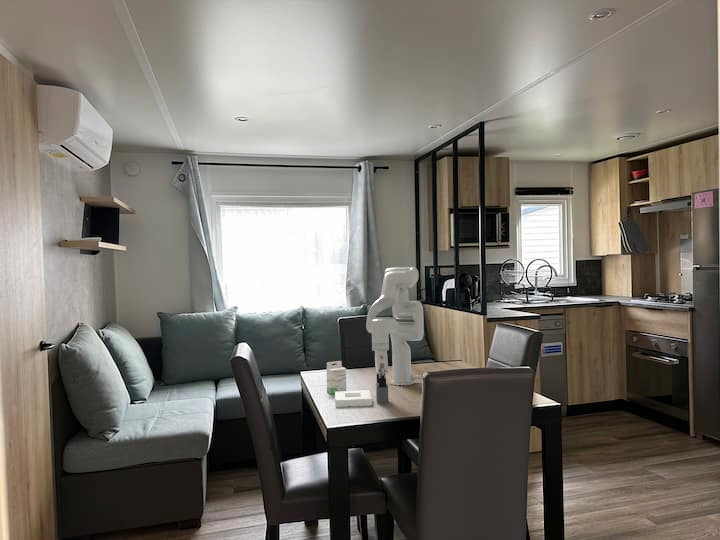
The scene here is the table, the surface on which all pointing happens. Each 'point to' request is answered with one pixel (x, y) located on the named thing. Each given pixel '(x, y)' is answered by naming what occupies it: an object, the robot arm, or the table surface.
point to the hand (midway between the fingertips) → (381, 385)
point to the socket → (353, 398)
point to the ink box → (336, 377)
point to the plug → (382, 394)
